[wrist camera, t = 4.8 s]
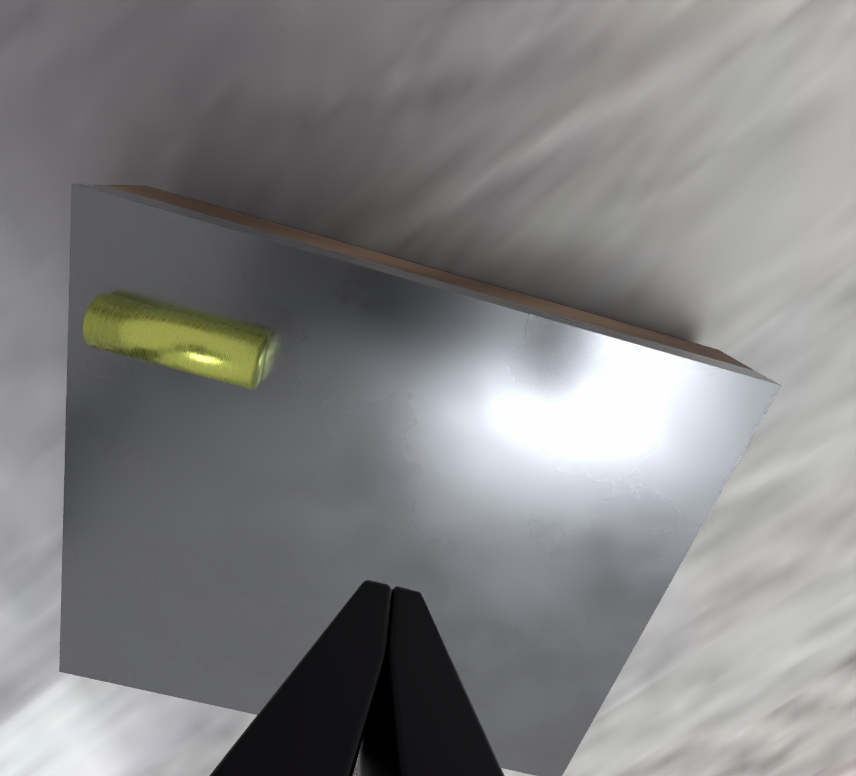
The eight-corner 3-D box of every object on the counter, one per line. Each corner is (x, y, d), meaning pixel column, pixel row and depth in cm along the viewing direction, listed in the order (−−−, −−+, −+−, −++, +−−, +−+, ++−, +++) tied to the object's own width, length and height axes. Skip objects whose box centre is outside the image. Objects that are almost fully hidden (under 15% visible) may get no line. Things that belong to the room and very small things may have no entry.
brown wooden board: (131, 581, 21) (84, 640, 19) (164, 186, 16) (103, 185, 13) (538, 676, 23) (552, 744, 20) (703, 341, 17) (754, 370, 14)
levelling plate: (82, 642, 19) (37, 698, 16) (104, 185, 13) (40, 183, 11) (552, 747, 20) (565, 811, 18) (754, 370, 14) (806, 400, 12)
